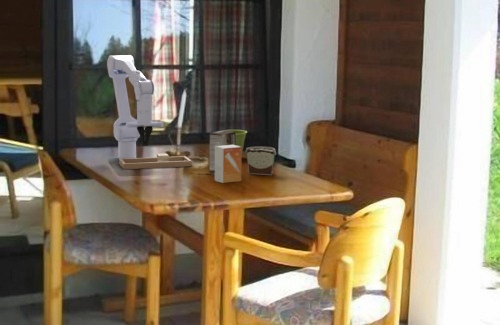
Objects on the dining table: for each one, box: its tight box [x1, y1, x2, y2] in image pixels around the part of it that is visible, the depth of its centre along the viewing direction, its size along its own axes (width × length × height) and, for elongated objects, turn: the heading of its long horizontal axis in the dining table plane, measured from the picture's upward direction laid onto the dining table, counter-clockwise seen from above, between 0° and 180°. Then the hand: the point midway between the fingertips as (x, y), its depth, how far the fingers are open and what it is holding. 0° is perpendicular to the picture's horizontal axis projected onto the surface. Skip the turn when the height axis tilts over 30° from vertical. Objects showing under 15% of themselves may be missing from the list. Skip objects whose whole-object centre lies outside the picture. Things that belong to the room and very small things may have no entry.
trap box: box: [118, 155, 193, 170], centre depth 357 cm, size 12×27×4 cm, turn 106°
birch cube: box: [156, 153, 170, 162], centre depth 357 cm, size 4×4×4 cm
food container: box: [244, 146, 277, 176], centre depth 348 cm, size 12×6×10 cm, turn 71°
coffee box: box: [208, 129, 236, 175], centre depth 347 cm, size 9×6×16 cm
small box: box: [214, 145, 243, 184], centre depth 332 cm, size 8×6×13 cm
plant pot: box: [226, 129, 248, 158], centre depth 382 cm, size 12×12×11 cm
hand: (145, 145), depth 355 cm, fingers closed
